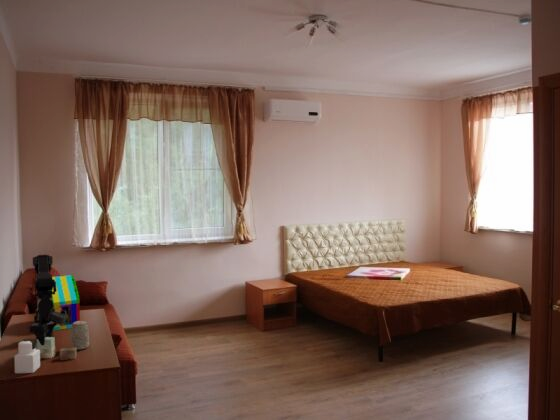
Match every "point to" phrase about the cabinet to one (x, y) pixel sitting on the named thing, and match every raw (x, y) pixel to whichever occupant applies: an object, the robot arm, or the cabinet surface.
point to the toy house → (66, 300)
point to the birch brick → (47, 353)
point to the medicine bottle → (27, 357)
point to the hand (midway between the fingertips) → (46, 342)
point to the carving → (80, 335)
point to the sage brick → (47, 343)
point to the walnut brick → (68, 353)
